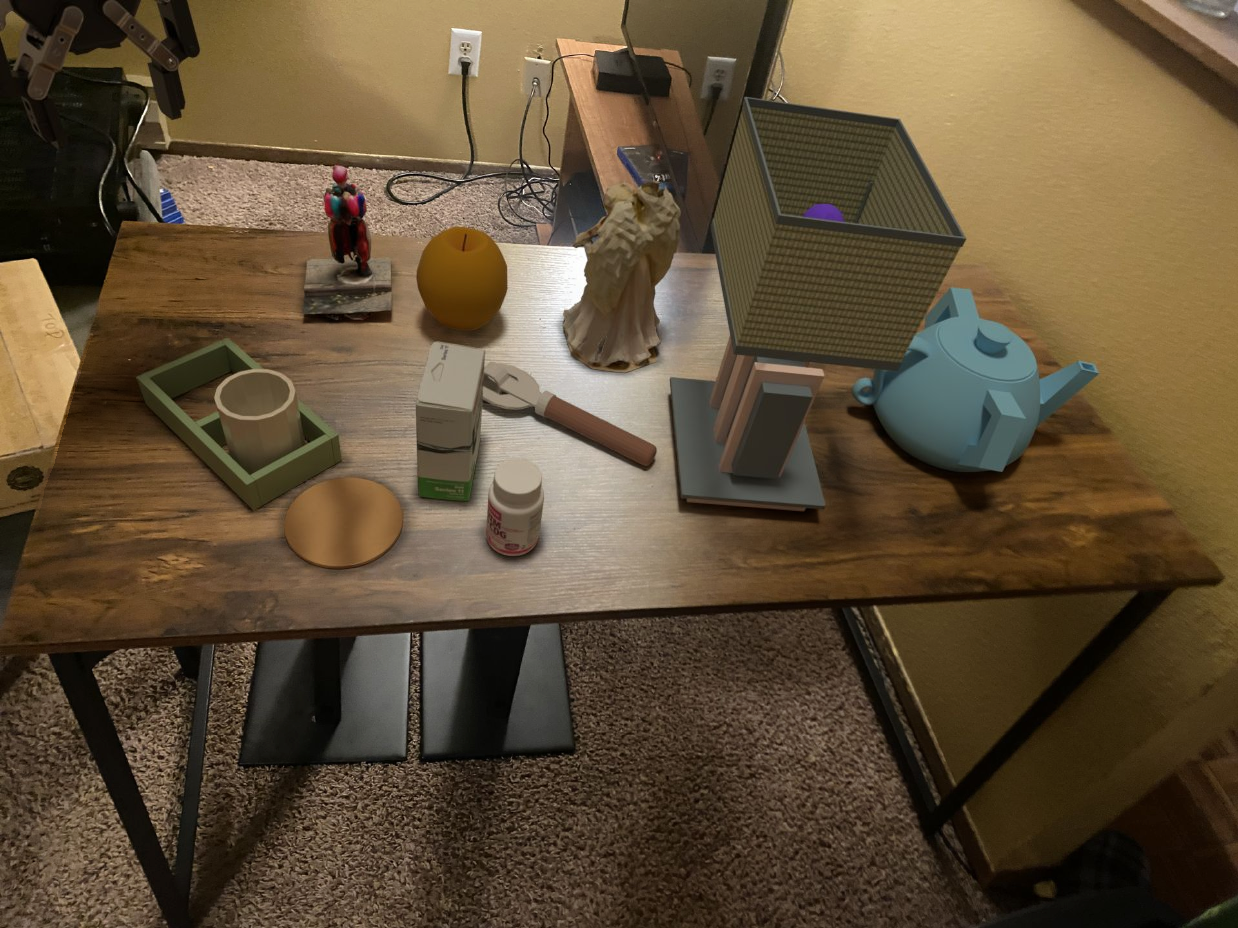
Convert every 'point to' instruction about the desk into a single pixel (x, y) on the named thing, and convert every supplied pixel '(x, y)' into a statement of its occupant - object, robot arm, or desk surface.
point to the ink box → (449, 420)
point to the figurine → (623, 278)
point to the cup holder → (209, 433)
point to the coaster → (343, 523)
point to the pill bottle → (515, 507)
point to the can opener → (559, 411)
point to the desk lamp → (806, 290)
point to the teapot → (967, 390)
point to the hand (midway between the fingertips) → (116, 129)
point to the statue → (347, 260)
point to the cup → (259, 417)
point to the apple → (462, 278)
